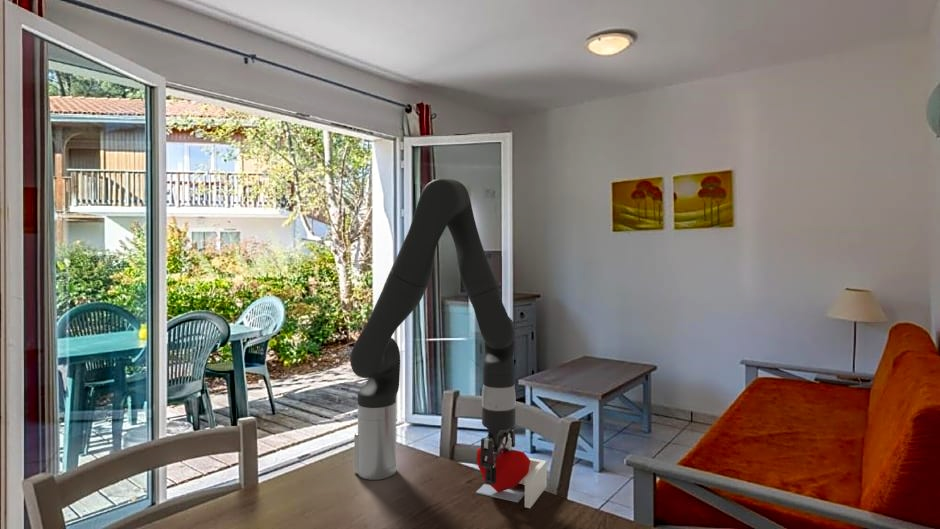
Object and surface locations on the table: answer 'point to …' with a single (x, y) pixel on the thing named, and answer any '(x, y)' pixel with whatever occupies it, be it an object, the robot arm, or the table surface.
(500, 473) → the heart
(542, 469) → the corner walls
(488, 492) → the pad
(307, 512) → the table surface
